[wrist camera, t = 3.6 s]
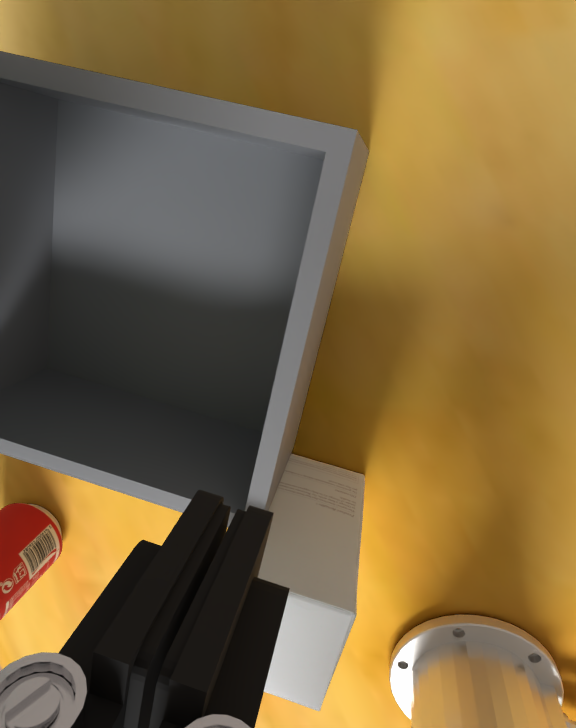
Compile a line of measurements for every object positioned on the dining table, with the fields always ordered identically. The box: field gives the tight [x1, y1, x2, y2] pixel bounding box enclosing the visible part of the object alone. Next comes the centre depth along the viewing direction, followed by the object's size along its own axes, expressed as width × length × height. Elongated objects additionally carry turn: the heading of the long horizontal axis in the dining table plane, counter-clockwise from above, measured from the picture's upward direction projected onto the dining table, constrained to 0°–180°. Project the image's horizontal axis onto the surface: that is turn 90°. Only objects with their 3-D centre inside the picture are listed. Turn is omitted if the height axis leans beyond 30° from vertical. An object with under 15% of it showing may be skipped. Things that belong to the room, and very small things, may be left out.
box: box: [0, 51, 369, 527], centre depth 28 cm, size 20×20×10 cm
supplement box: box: [258, 454, 365, 711], centre depth 31 cm, size 7×7×13 cm
